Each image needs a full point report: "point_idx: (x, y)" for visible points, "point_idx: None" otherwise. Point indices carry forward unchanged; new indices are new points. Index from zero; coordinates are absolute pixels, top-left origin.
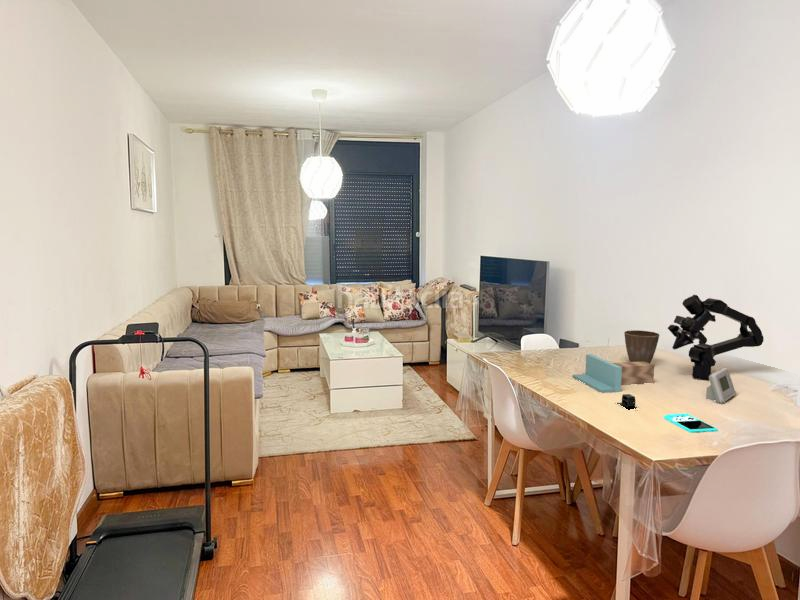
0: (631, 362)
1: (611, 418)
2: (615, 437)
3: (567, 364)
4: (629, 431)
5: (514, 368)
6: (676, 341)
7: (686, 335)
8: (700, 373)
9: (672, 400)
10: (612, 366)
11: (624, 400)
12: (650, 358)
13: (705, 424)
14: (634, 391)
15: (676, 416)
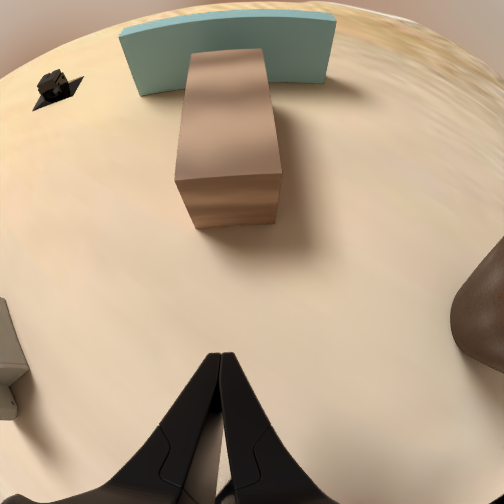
0: (260, 106)
1: (41, 69)
2: (9, 73)
3: (454, 107)
4: (6, 85)
5: (382, 23)
6: (223, 421)
7: (16, 497)
8: (226, 502)
9: (29, 191)
10: (146, 24)
11: (62, 81)
12: (475, 343)
13: None
14: (127, 126)
15: None
